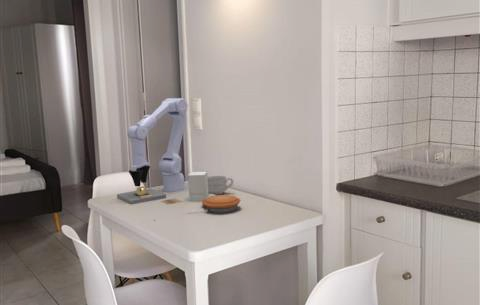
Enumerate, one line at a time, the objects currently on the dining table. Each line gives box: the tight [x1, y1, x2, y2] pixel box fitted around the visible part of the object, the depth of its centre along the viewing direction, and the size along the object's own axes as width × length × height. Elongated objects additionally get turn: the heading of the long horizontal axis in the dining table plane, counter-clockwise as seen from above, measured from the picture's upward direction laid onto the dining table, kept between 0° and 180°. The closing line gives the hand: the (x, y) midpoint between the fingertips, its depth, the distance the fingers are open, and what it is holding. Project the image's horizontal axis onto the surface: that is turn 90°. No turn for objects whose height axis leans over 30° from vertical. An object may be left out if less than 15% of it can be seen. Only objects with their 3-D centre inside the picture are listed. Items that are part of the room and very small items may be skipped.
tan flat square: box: [160, 198, 184, 205], centre depth 204 cm, size 7×7×2 cm
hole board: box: [116, 188, 167, 205], centre depth 212 cm, size 16×16×3 cm
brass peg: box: [136, 186, 147, 196], centre depth 212 cm, size 4×4×6 cm
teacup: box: [207, 175, 234, 196], centre depth 220 cm, size 14×11×8 cm
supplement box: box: [187, 171, 210, 202], centre depth 206 cm, size 7×7×13 cm
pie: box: [201, 194, 241, 214], centre depth 194 cm, size 15×16×5 cm
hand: (140, 184), depth 211 cm, fingers open, 7 cm apart
